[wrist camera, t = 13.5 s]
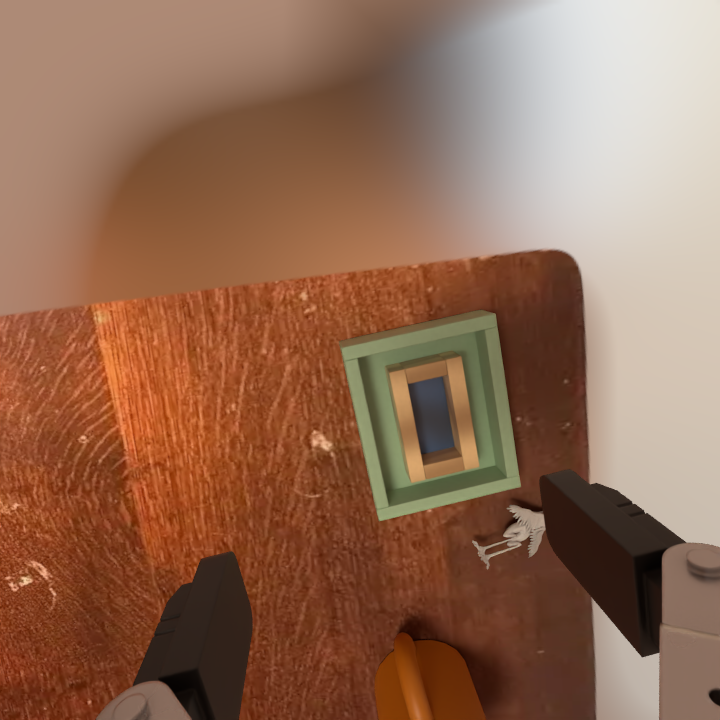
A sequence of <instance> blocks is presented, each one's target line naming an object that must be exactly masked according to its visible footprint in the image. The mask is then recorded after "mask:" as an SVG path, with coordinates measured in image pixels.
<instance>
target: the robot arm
mask: <svg viewBox="0 0 720 720" xmlns="http://www.w3.org/2000/svg"><path fill="white" fill-rule="evenodd" d="M540 492H541V500H542V507H543V514H544V522H545V529H546V534H547V537H548V540H549V543H550V545H551V547H552V549H553V551H554V552H555V554H556V555H557V556H558V558H559V559H560V560H561V561H562V562H563V564H564V565H565V566H566V567H567V568H568V569H569V571H570V572H571V573H572V574H573V575H574V577H575V578H576V579H577V580H578V581H579V583H580V584H581V585H582V586H583V587H584V589H585V590H586V591H587V592H588V593H589V595H590V596H591V597H592V598H593V599H594V601H595V602H596V603H597V604H598V605H599V606H600V608H601V609H602V610H603V611H604V612H605V614H606V615H607V616H608V617H609V618H610V620H611V621H612V622H613V623H614V624H615V626H616V627H617V628H618V629H619V630H620V632H621V633H622V634H623V635H624V636H625V638H626V639H627V640H628V641H629V642H630V643H631V645H632V646H633V647H634V648H635V649H636V651H637V652H638V653H639V654H640V655H641V657H645V656H649V655H653V654H656V653H660V676H659V677H660V678H659V680H660V682H659V684H660V685H659V687H660V688H659V695H660V696H659V720H720V547H716V546H713V545H709V544H703V543H686V542H685V541H684V540H682V539H681V538H680V537H678V536H677V535H676V534H674V533H673V532H672V531H670V530H669V529H668V528H666V527H665V526H664V525H662V524H661V523H660V522H658V521H657V520H656V519H654V518H653V517H651V516H650V515H649V514H648V513H646V514H645V512H644V510H642V509H641V508H640V507H638V506H637V505H636V504H632V501H630V500H629V499H627V498H626V497H625V496H624V495H622V494H621V493H620V492H618V491H617V490H614V489H611V488H609V487H606V486H603V485H601V484H598V483H595V484H591V485H590V484H589V483H587V482H586V481H585V480H584V479H582V478H581V477H580V476H579V475H577V474H576V473H575V472H574V471H572V470H570V469H568V470H564V471H560V472H556V473H552V474H547V475H543V476H541V477H540ZM160 620H161V622H159V623H158V626H157V628H156V631H155V633H154V635H155V636H154V637H153V638H152V640H151V643H150V645H149V647H148V650H147V652H146V655H145V657H144V660H143V662H142V664H141V667H140V669H139V672H138V674H137V676H136V679H135V681H134V684H133V686H132V687H131V688H129V689H127V690H126V691H124V692H123V693H121V694H119V695H118V696H117V697H116V698H114V699H113V700H112V701H111V702H110V703H109V704H108V705H107V706H106V707H105V708H104V709H103V710H102V711H101V713H100V714H99V715H98V717H97V718H96V720H239V714H240V707H241V701H242V694H243V688H244V681H245V675H246V668H247V662H248V655H249V649H250V642H251V636H252V612H251V606H250V602H249V599H248V596H247V592H246V589H245V586H244V582H243V579H242V576H241V572H240V569H239V566H238V562H237V559H236V556H235V554H234V553H233V552H232V551H230V552H226V553H222V554H218V555H214V556H210V557H206V558H202V559H201V560H200V563H199V565H198V568H197V571H196V574H195V576H194V579H193V582H192V583H188V584H184V585H182V586H181V587H180V588H179V589H178V590H177V591H176V593H175V594H174V595H173V596H172V597H171V598H170V599H169V601H168V602H167V604H166V607H165V609H164V611H163V614H162V616H161V619H160Z"/></svg>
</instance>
